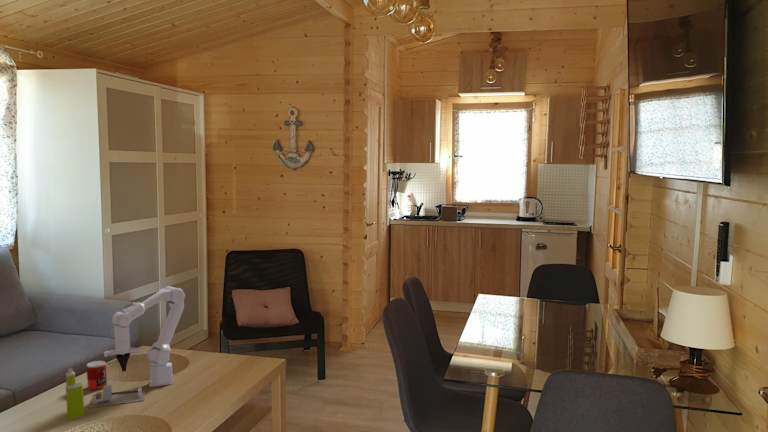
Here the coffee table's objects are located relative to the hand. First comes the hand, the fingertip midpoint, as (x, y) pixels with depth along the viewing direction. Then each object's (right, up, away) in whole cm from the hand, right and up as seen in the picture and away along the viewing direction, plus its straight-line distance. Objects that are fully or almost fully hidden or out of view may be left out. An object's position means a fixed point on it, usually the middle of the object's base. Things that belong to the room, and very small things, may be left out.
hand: (124, 370), depth 249 cm
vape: (-9, -13, -21) cm, 27 cm away
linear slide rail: (0, -11, -6) cm, 12 cm away
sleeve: (-4, -10, -7) cm, 12 cm away
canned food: (-16, -10, +9) cm, 21 cm away
